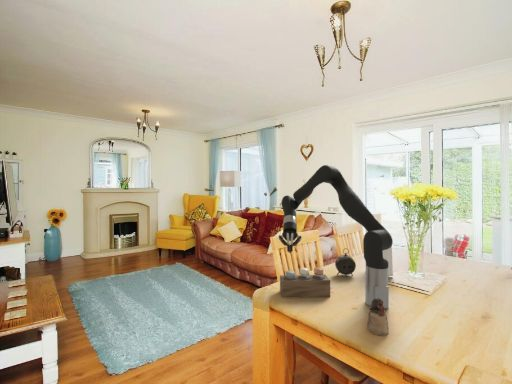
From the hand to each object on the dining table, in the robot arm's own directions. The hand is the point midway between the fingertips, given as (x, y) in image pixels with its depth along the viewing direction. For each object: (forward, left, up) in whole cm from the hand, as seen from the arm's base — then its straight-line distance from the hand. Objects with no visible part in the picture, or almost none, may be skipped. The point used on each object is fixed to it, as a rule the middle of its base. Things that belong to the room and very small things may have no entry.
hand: (289, 251), depth 142 cm
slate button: (-10, +2, -10) cm, 14 cm away
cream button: (-10, -5, -8) cm, 14 cm away
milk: (+17, -57, -18) cm, 62 cm away
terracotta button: (-10, -12, -8) cm, 18 cm away
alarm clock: (+14, -35, -18) cm, 42 cm away
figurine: (-44, -25, -18) cm, 54 cm away
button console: (-10, -5, -18) cm, 21 cm away
